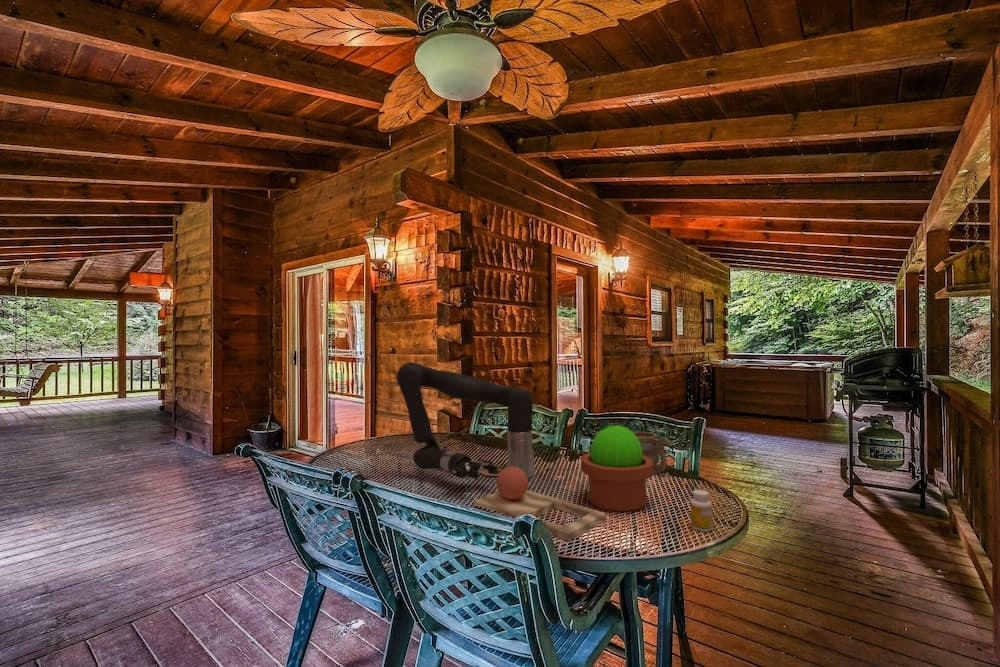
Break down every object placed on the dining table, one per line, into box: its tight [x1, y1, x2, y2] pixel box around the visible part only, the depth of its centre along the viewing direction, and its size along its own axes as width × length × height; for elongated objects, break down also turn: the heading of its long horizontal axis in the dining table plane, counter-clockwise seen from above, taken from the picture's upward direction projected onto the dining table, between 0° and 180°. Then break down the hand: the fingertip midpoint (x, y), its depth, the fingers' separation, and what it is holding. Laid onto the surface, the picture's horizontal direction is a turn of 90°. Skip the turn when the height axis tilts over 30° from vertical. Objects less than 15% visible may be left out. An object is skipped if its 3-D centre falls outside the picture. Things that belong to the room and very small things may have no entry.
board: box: [474, 489, 607, 542], centre depth 139 cm, size 18×36×2 cm, turn 46°
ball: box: [496, 466, 529, 500], centre depth 146 cm, size 10×10×10 cm
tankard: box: [632, 431, 672, 476], centre depth 176 cm, size 20×13×15 cm, turn 23°
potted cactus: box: [580, 423, 654, 512], centre depth 147 cm, size 22×22×25 cm
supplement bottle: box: [690, 489, 713, 532], centre depth 127 cm, size 5×5×10 cm
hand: (487, 472), depth 154 cm, fingers open, 8 cm apart
